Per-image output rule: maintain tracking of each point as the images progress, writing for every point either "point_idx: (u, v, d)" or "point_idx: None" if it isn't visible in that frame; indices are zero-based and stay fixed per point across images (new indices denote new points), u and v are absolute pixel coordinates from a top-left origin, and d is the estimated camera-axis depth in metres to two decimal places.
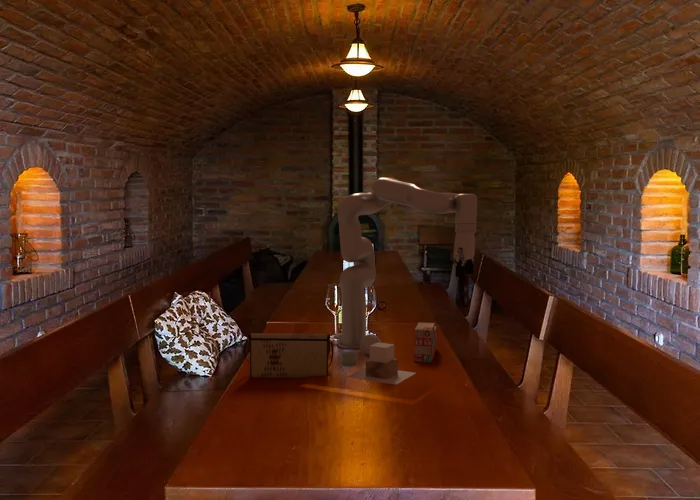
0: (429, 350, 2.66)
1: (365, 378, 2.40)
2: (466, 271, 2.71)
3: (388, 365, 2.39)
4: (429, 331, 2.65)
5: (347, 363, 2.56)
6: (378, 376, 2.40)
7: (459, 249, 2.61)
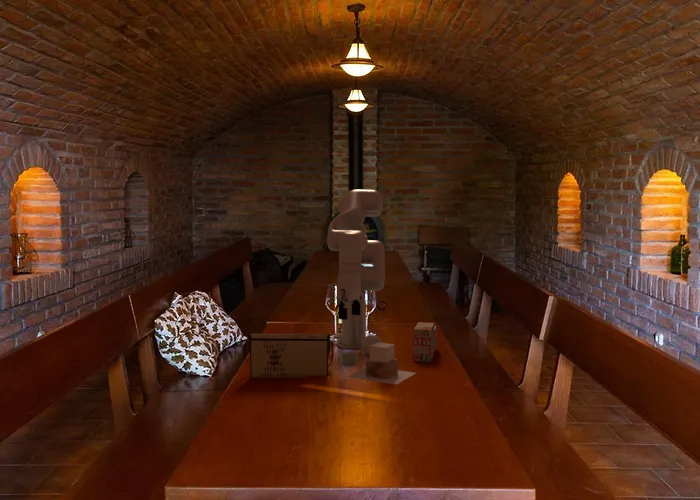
0: (428, 350, 2.66)
1: (365, 378, 2.40)
2: (353, 312, 2.60)
3: (388, 365, 2.39)
4: (428, 331, 2.65)
5: (347, 363, 2.56)
6: (378, 376, 2.40)
7: (341, 290, 2.50)
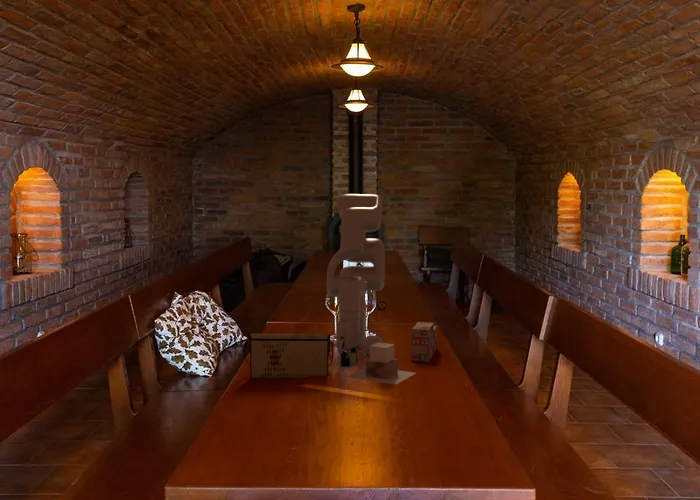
0: (426, 349, 2.66)
1: (365, 378, 2.40)
2: None
3: (388, 365, 2.39)
4: (426, 331, 2.66)
5: None
6: (378, 376, 2.40)
7: (341, 341, 2.53)
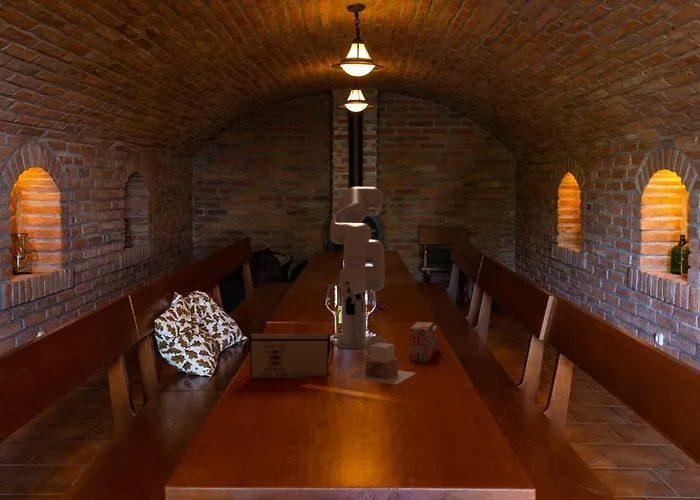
0: (424, 349, 2.67)
1: (365, 378, 2.40)
2: None
3: (388, 365, 2.39)
4: (424, 330, 2.66)
5: None
6: (378, 376, 2.40)
7: (346, 286, 2.48)
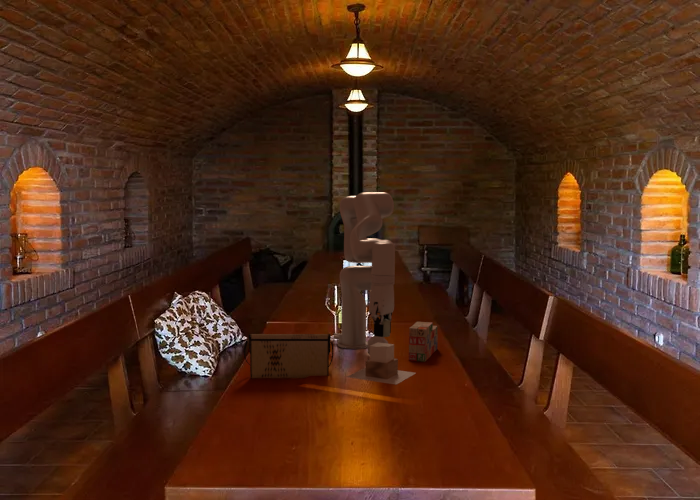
0: (423, 349, 2.67)
1: (365, 378, 2.40)
2: None
3: (388, 365, 2.39)
4: (423, 330, 2.66)
5: None
6: (378, 376, 2.40)
7: (375, 306, 2.37)
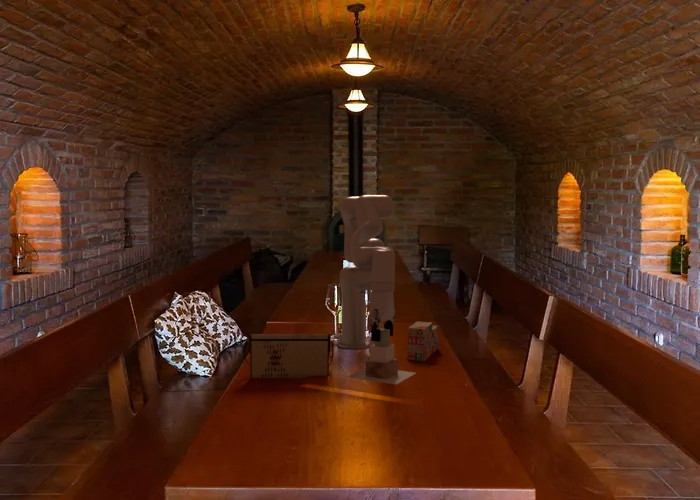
0: (422, 349, 2.67)
1: (365, 378, 2.40)
2: None
3: (388, 365, 2.39)
4: (422, 330, 2.67)
5: (380, 340, 2.41)
6: (378, 376, 2.40)
7: (374, 311, 2.37)
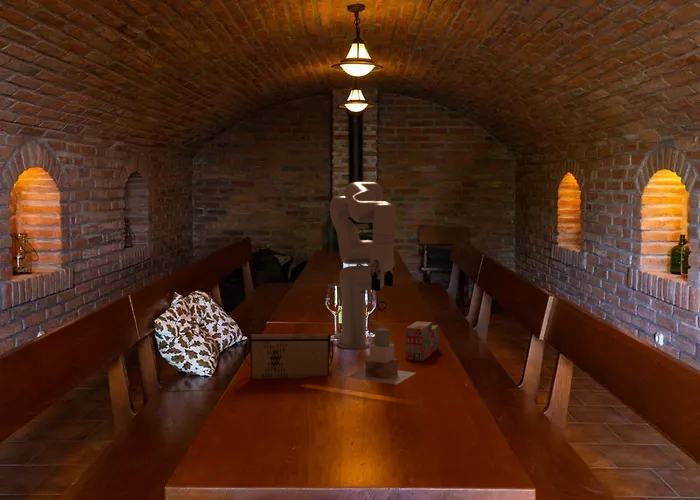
0: (420, 349, 2.68)
1: (365, 378, 2.40)
2: (385, 283, 2.61)
3: (388, 365, 2.39)
4: (420, 330, 2.67)
5: (380, 340, 2.41)
6: (378, 376, 2.40)
7: (375, 262, 2.51)
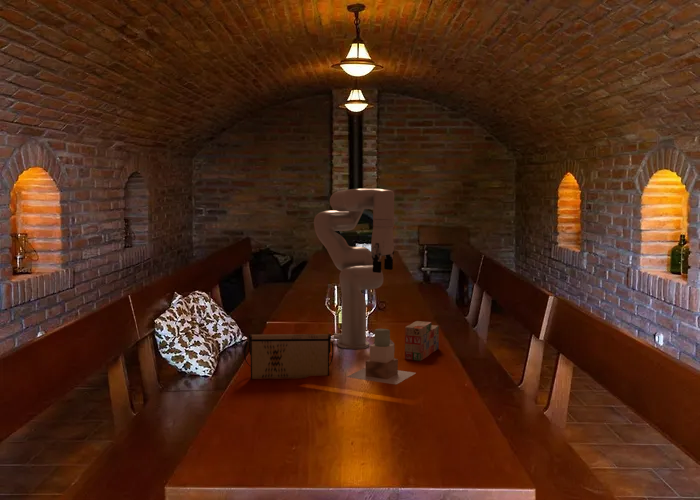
0: (419, 348, 2.68)
1: (365, 378, 2.40)
2: (385, 267, 2.73)
3: (388, 365, 2.39)
4: (418, 329, 2.68)
5: (380, 340, 2.41)
6: (378, 376, 2.40)
7: (375, 245, 2.63)
